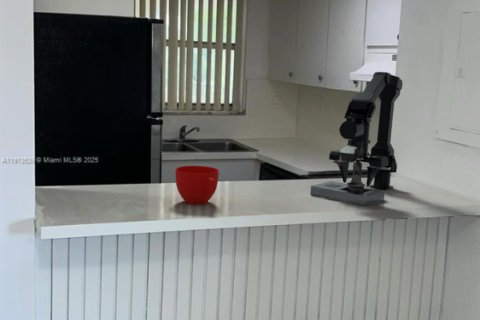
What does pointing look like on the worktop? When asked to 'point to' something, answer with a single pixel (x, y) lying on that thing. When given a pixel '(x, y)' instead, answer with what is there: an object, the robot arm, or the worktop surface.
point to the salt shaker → (356, 178)
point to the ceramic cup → (196, 183)
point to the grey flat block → (347, 193)
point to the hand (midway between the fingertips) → (356, 184)
